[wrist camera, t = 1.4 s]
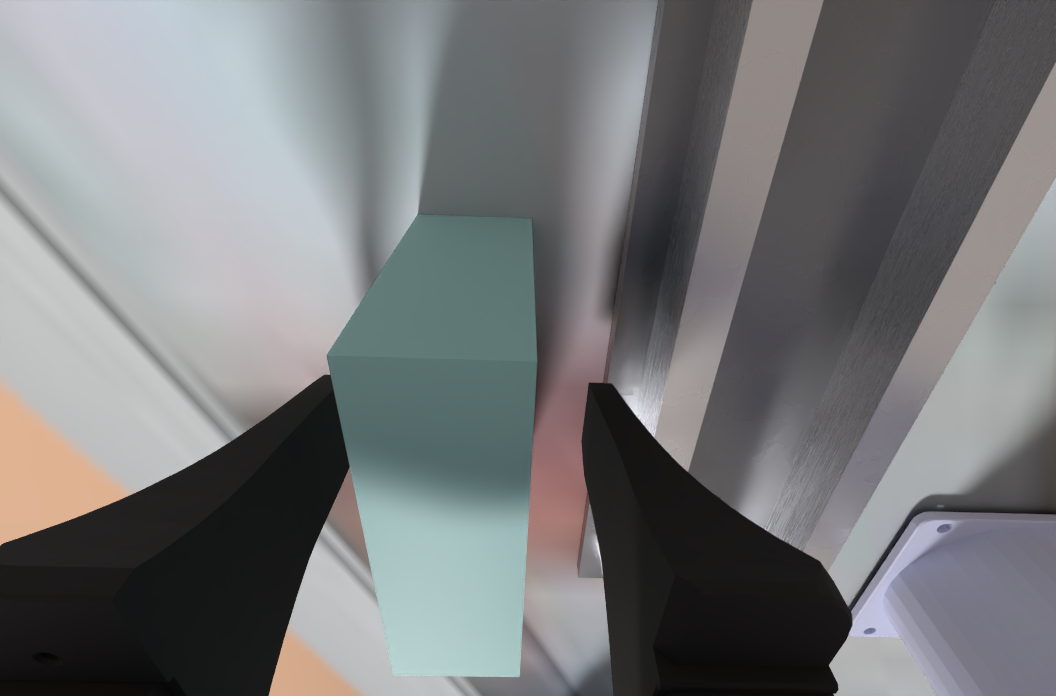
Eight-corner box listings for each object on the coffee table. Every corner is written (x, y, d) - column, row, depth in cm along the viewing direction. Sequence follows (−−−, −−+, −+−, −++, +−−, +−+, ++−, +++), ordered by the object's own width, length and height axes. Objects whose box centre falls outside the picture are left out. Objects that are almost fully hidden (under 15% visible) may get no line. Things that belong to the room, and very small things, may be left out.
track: (1157, -152, 9) (1355, -215, 7) (789, 569, 21) (821, 631, 19) (683, -178, 9) (735, -252, 7) (577, 564, 21) (583, 626, 18)
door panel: (531, 217, 13) (537, 361, 7) (521, 464, 18) (519, 677, 12) (418, 213, 13) (326, 355, 7) (437, 462, 18) (393, 675, 12)
